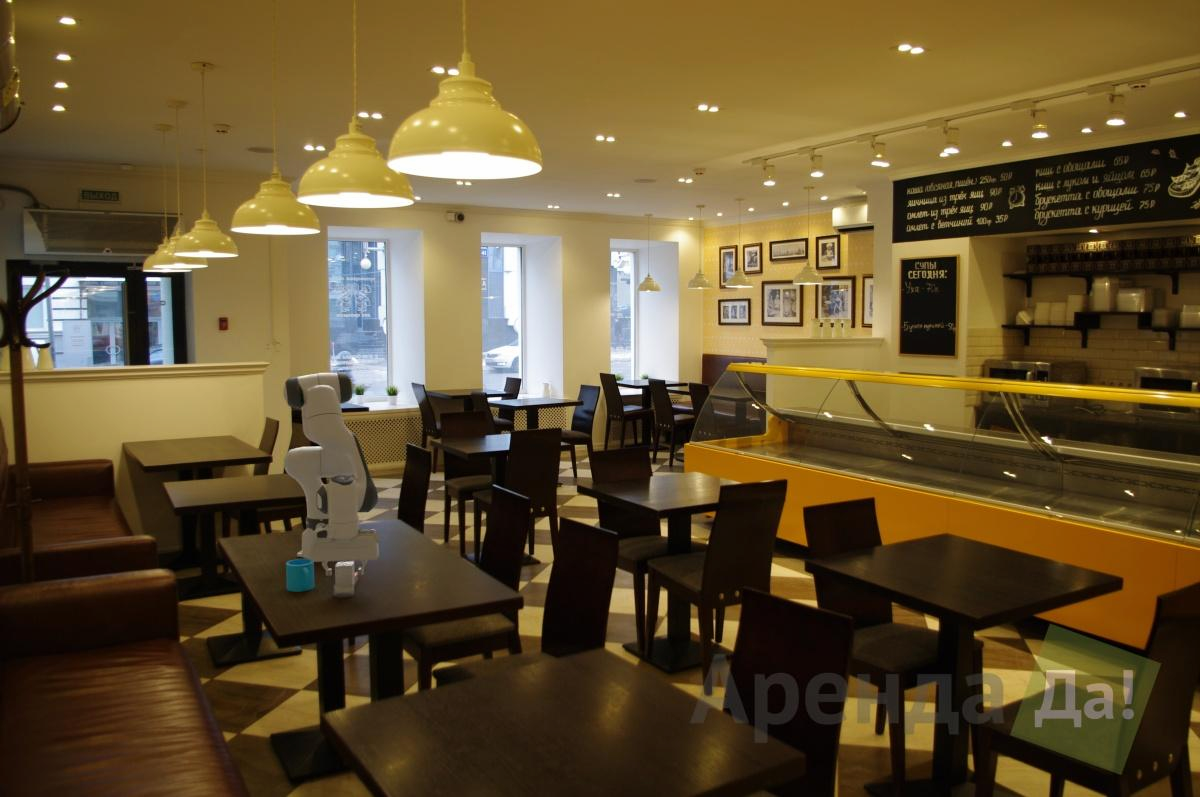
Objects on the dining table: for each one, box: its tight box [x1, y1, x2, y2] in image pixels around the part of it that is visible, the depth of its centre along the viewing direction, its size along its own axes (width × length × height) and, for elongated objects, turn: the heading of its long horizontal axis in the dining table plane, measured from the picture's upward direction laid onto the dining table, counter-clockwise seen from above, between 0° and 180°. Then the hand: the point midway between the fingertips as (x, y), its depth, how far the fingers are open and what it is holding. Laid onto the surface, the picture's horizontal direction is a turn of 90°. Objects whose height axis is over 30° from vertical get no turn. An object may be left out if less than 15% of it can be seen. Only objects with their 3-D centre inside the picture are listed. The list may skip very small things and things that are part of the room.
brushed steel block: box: [334, 561, 356, 587], centre depth 272 cm, size 5×5×6 cm
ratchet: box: [333, 571, 359, 599], centre depth 278 cm, size 18×6×6 cm, turn 6°
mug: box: [285, 558, 315, 593], centre depth 277 cm, size 12×8×8 cm
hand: (345, 574), depth 272 cm, fingers open, 8 cm apart
